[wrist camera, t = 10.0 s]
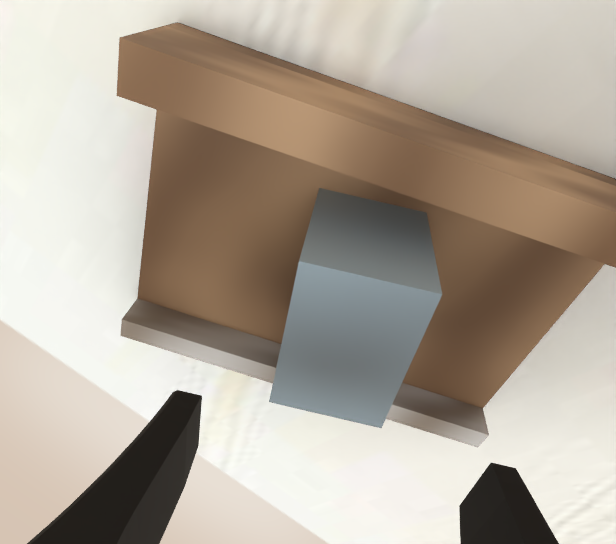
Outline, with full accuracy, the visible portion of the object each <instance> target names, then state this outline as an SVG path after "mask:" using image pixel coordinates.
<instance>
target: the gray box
mask: <svg viewBox="0 0 616 544" xmlns="http://www.w3.org/2000/svg"><path fill="white" fill-rule="evenodd" d="M441 296H442V290H441V285H440V280H439V275H438V269H437V264H436V259H435V254H434V248H433V243H432V238H431V233H430V228H429V222H428V217H427V213H426V212H421V211H417V210H413V209H409V208H404V207H400V206H396V205H391V204H387V203H383V202H378V201H374V200H370V199H365V198H361V197H357V196H352V195H348V194H344V193H339V192H335V191H331V190H327V189H322V188H319V191H318V194H317V198H316V202H315V205H314V209H313V212H312V216H311V220H310V223H309V227H308V230H307V234H306V238H305V241H304V245H303V248H302V252H301V256H300V259H299V263H298V268H297V273H296V278H295V282H294V287H293V292H292V296H291V301H290V306H289V311H288V315H287V320H286V325H285V329H284V334H283V339H282V344H281V348H280V353H279V358H278V362H277V367H276V372H275V377H274V381H273V386H272V391H271V396H270V400H269V402H272V403H276V404H280V405H285V406H289V407H293V408H297V409H302V410H306V411H310V412H315V413H319V414H323V415H327V416H332V417H336V418H340V419H344V420H349V421H353V422H357V423H362V424H366V425H370V426H374V427H379V428H382V425H383V423H384V421H385V419H386V417H387V414H388V412H389V410H390V408H391V406H392V403H393V401H394V399H395V397H396V395H397V393H398V390H399V388H400V386H401V384H402V382H403V379H404V377H405V375H406V373H407V371H408V368H409V366H410V364H411V362H412V360H413V357H414V355H415V353H416V351H417V349H418V347H419V344H420V342H421V340H422V338H423V336H424V333H425V331H426V329H427V327H428V325H429V322H430V320H431V318H432V316H433V314H434V311H435V309H436V307H437V305H438V303H439V301H440V298H441Z"/></svg>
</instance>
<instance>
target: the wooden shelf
mask: <svg viewBox="0 0 616 544" xmlns="http://www.w3.org/2000/svg"><path fill="white" fill-rule="evenodd" d="M117 96H119V97H122V98H125V99H128V100H131V101H134V102H137V103H140V104H143V105H145V106H148V107H151V108H154V109H157V113H156V122H155V132H154V142H153V152H152V161H151V171H150V181H149V191H148V200H147V210H146V220H145V230H144V239H143V249H142V259H141V269H140V279H139V288H138V298H137V300H136V301H135V302H134V304H133V305H132V307H131V308H130V309H129V311H128V312H127V313H126V315H125V316H124V317H123V319H122V325H121V336H123V337H127V338H130V339H133V340H136V341H139V342H143V343H146V344H149V345H152V346H155V347H159V348H162V349H165V350H168V351H171V352H175V353H178V354H181V355H184V356H187V357H191V358H194V359H197V360H200V361H203V362H207V363H210V364H213V365H216V366H219V367H223V368H226V369H229V370H232V371H235V372H239V373H242V374H245V375H248V376H251V377H255V378H258V379H261V380H264V381H267V382H270V383H273V381H274V377H275V372H276V367H277V362H278V358H279V353H280V348H281V344H282V339H283V334H284V329H285V325H286V320H287V315H288V311H289V306H290V301H291V296H292V292H293V287H294V282H295V278H296V273H297V268H298V263H299V259H300V256H301V252H302V248H303V245H304V241H305V238H306V234H307V230H308V227H309V223H310V220H311V216H312V212H313V209H314V205H315V202H316V198H317V194H318V191H319V188H322V189H327V190H331V191H335V192H339V193H344V194H348V195H352V196H357V197H361V198H365V199H370V200H374V201H378V202H383V203H387V204H391V205H396V206H400V207H404V208H409V209H413V210H417V211H421V212H426V213H427V217H428V222H429V228H430V233H431V238H432V243H433V248H434V254H435V259H436V264H437V269H438V275H439V280H440V285H441V290H442V296H441V298H440V301H439V303H438V305H437V307H436V309H435V311H434V314H433V316H432V318H431V320H430V322H429V325H428V327H427V329H426V331H425V333H424V336H423V338H422V340H421V342H420V344H419V347H418V349H417V351H416V353H415V355H414V357H413V360H412V362H411V364H410V366H409V368H408V371H407V373H406V375H405V377H404V379H403V382H402V384H401V386H400V388H399V390H398V393H397V395H396V397H395V399H394V401H393V403H392V406H391V408H390V410H389V412H388V414H387V417H386V419H389V420H392V421H395V422H398V423H402V424H405V425H408V426H411V427H414V428H418V429H421V430H424V431H427V432H430V433H434V434H437V435H440V436H443V437H446V438H450V439H453V440H456V441H459V442H462V443H465V444H469V445H472V446H475V447H479V445H480V444H481V443H482V442H483V441H484V440H485V439H486V438H487V437H488V435H489V433H488V429H487V425H486V421H485V416H484V412H483V407H484V406H485V405H486V404H487V403H488V401H489V400H490V399H491V398H492V397H493V396H494V394H495V393H496V392H497V391H498V390H499V388H500V387H501V386H502V385H503V384H504V382H505V381H506V380H507V379H508V378H509V377H510V375H511V374H512V373H513V372H514V371H515V369H516V368H517V367H518V366H519V365H520V364H521V362H522V361H523V360H524V359H525V358H526V356H527V355H528V354H529V353H530V352H531V350H532V349H533V348H534V347H535V346H536V345H537V343H538V342H539V341H540V340H541V339H542V337H543V336H544V335H545V334H546V333H547V332H548V330H549V329H550V328H551V327H552V326H553V324H554V323H555V322H556V321H557V320H558V319H559V317H560V316H561V315H562V314H563V313H564V311H565V310H566V309H567V308H568V307H569V305H570V304H571V303H572V302H573V301H574V300H575V298H576V297H577V296H578V295H579V294H580V292H581V291H582V290H583V289H584V288H585V287H586V285H587V284H588V283H589V282H590V281H591V279H592V278H593V277H594V276H595V275H596V273H597V272H598V271H599V270H600V269H601V268H602V266H603V265H604V264H607V265H610V266H613V267H616V179H614V178H611V177H608V176H606V175H603V174H600V173H597V172H594V171H592V170H589V169H586V168H583V167H580V166H578V165H575V164H572V163H569V162H566V161H564V160H561V159H558V158H555V157H552V156H550V155H547V154H544V153H541V152H538V151H536V150H533V149H530V148H527V147H524V146H522V145H519V144H516V143H513V142H510V141H508V140H505V139H502V138H499V137H496V136H494V135H491V134H488V133H485V132H482V131H480V130H477V129H474V128H471V127H468V126H466V125H463V124H460V123H457V122H454V121H452V120H449V119H446V118H443V117H440V116H438V115H435V114H432V113H429V112H426V111H424V110H421V109H418V108H415V107H412V106H410V105H407V104H404V103H401V102H398V101H396V100H393V99H390V98H387V97H384V96H382V95H379V94H376V93H373V92H370V91H368V90H365V89H362V88H359V87H356V86H354V85H351V84H348V83H345V82H342V81H340V80H337V79H334V78H331V77H328V76H326V75H323V74H320V73H317V72H314V71H312V70H309V69H306V68H303V67H300V66H298V65H295V64H292V63H289V62H286V61H284V60H281V59H278V58H275V57H272V56H270V55H267V54H264V53H261V52H258V51H256V50H253V49H250V48H247V47H244V46H242V45H239V44H236V43H233V42H230V41H228V40H225V39H222V38H219V37H216V36H214V35H211V34H208V33H205V32H202V31H200V30H197V29H194V28H191V27H188V26H186V25H183V24H180V23H174V24H170V25H166V26H162V27H158V28H155V29H151V30H147V31H143V32H139V33H136V34H132V35H128V36H124V37H120V42H119V62H118V82H117Z"/></svg>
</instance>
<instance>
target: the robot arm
mask: <svg viewBox="0 0 616 544" xmlns="http://www.w3.org/2000/svg"><path fill="white" fill-rule="evenodd" d="M201 400H202V396H200V395H196V394H192V393H187V392H183V391H179V390H177V391H175V392H173V393H172V394H171V396H170V397H169V398H168V400H167V401H166V402H165V404H164V405H163V406H162V407H161V409H160V410H159V411H158V412H157V414H156V415H155V416H154V417H153V419H152V420H151V421H150V422H149V423H148V425H147V426H146V427H145V428H144V429H143V430H142V432H141V433H140V434H139V435H138V436H137V437H136V438H135V440H134V441H133V442H132V443H131V444H130V445H129V446H128V447H127V448H126V449H125V450H124V451H123V452H122V454H121V455H120V456H119V457H118V458H117V459H116V460H115V461H114V462H113V463H112V464H111V465H110V466H109V467H108V468H107V469H106V471H105V472H104V473H103V474H102V475H101V476H100V477H98V478H97V480H95V481H94V482H93V483H92V484H91V485H90V487H88V488H87V489H86V490H85V491H84V493H82V494H81V495H80V496H79V497H78V498H77V499H76V500H75V501H74V502H73V503H72V504H71V505H70V506H69V507H68V508H67V509H65V510H64V511H63V512H62V513H61V514H60V515H59V516H58V517H57V518H56V519H55V520H54V521H52V522H51V523H50V524H49V525H48V526H47V527H46V528H45V529H43V530H42V531H41V532H40V533H39V534H38V535H36V536H35V537H34V538H33V539H32V540H31V541H30V542H29V543H27V544H159V543H160V541H161V538H162V536H163V534H164V532H165V530H166V527H167V525H168V523H169V520H170V518H171V516H172V514H173V512H174V509H175V507H176V505H177V503H178V500H179V498H180V496H181V493H182V491H183V489H184V487H185V484H186V481H187V478H188V474H189V472H190V469H191V466H192V463H193V460H194V457H195V454H196V451H197V448H198V442H199V428H200V414H201ZM460 536H461V544H559V543H558V541H557V540H556V538H555V536H554V535H553V533H552V531H551V529H550V528H549V526H548V524H547V522H546V521H545V519H544V517H543V515H542V514H541V512H540V510H539V508H538V507H537V505H536V503H535V501H534V499H533V498H532V496H531V494H530V492H529V491H528V489H527V487H526V485H525V484H524V482H523V480H522V478H521V477H520V475H519V473H518V472H517V470H516V468H512V467H508V466H503V465H499V464H495V463H490V465H489V466H488V467H487V469H486V470H485V472H484V473H483V474H482V476H481V477H480V478H479V480H478V481H477V483H476V484H475V485H474V487H473V488H472V489H471V491H470V492H469V494H468V495H467V496H466V498H465V499H464V500H463V502H462V503H461V505H460Z"/></svg>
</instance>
